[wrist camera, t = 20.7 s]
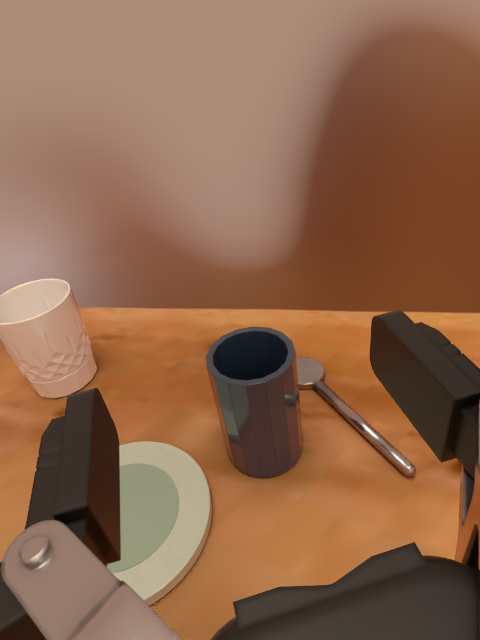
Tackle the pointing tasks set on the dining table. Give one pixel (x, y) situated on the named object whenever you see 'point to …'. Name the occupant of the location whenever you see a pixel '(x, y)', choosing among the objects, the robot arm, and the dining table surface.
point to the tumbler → (257, 399)
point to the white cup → (47, 337)
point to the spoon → (349, 412)
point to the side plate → (160, 517)
